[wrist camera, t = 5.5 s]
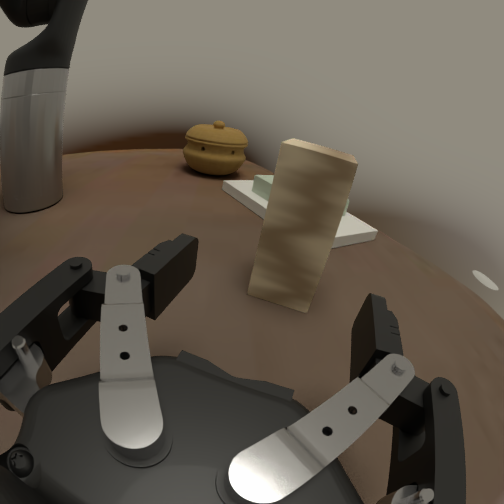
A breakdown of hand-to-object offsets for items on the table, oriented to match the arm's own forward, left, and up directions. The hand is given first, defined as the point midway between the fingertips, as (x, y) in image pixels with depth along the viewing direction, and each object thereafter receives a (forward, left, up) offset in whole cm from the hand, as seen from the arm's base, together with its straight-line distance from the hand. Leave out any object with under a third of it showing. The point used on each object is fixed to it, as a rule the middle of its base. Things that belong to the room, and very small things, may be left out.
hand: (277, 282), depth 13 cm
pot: (-40, +18, -7) cm, 45 cm away
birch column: (-6, +8, -7) cm, 12 cm away
